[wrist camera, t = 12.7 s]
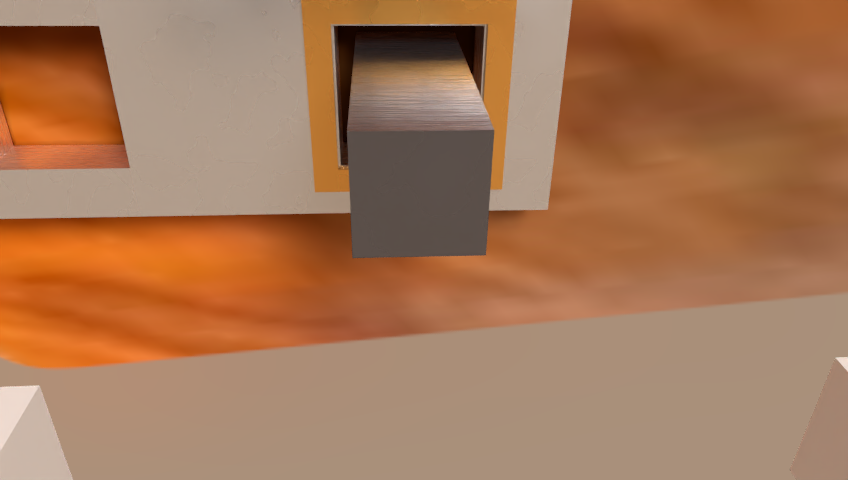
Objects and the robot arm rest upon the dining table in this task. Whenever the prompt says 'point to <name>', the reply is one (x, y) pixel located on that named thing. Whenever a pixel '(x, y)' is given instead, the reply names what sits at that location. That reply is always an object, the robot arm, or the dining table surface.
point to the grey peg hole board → (269, 105)
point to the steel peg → (417, 148)
